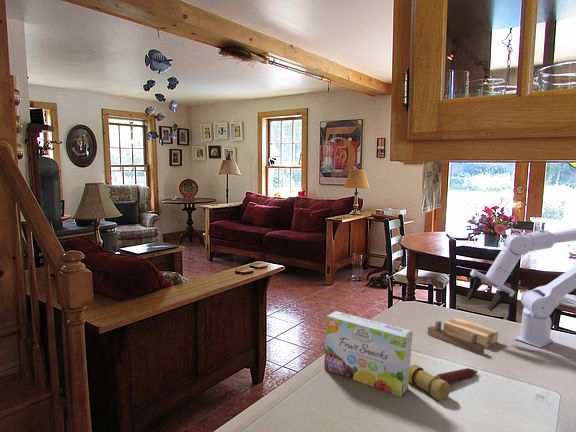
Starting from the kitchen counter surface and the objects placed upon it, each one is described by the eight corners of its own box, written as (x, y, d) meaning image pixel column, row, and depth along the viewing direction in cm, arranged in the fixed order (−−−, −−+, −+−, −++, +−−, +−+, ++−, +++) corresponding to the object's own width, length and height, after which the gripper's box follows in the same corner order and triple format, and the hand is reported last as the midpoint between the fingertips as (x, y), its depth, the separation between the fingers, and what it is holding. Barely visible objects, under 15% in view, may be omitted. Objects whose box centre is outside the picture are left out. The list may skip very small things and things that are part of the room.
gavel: (462, 355, 115) (495, 371, 107) (459, 371, 116) (492, 388, 107) (406, 365, 105) (438, 384, 96) (404, 382, 105) (436, 403, 97)
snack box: (322, 370, 110) (325, 315, 108) (333, 363, 114) (335, 309, 113) (401, 398, 98) (406, 336, 96) (409, 388, 102) (413, 329, 101)
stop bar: (431, 333, 139) (432, 318, 138) (484, 353, 125) (485, 337, 124) (427, 334, 137) (428, 319, 137) (480, 354, 123) (482, 338, 123)
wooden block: (456, 328, 144) (457, 317, 144) (497, 343, 133) (498, 331, 133) (443, 333, 140) (444, 322, 139) (484, 349, 129) (485, 336, 128)
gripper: (516, 275, 138) (494, 310, 140) (476, 255, 139) (455, 290, 141) (526, 282, 131) (502, 318, 134) (484, 260, 132) (461, 296, 134)
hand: (478, 304), depth 137 cm, fingers open, 7 cm apart
